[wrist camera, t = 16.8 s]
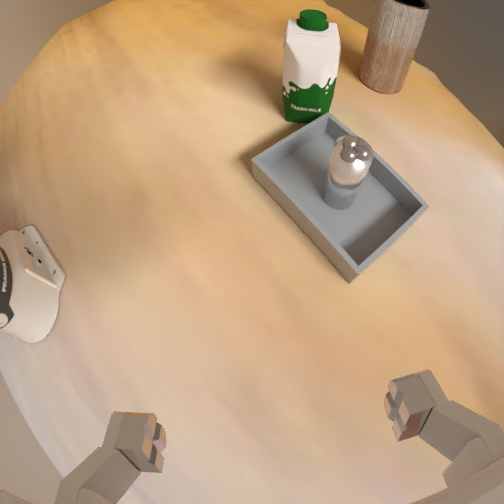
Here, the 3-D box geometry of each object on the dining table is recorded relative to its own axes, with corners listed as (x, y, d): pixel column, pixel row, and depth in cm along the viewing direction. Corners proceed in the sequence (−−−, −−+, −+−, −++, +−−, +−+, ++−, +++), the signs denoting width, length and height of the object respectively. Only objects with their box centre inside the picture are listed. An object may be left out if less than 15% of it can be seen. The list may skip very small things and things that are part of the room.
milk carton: (328, 97, 54) (341, 12, 35) (329, 130, 51) (346, 38, 32) (284, 92, 55) (284, 6, 36) (280, 125, 52) (280, 31, 33)
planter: (405, 80, 55) (433, 1, 34) (395, 101, 53) (426, 13, 32) (366, 61, 58) (384, -19, 36) (351, 81, 55) (370, -10, 34)
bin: (253, 177, 48) (251, 159, 44) (324, 131, 51) (328, 112, 46) (348, 283, 42) (358, 274, 37) (416, 220, 44) (429, 206, 40)
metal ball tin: (314, 191, 46) (325, 141, 34) (338, 174, 47) (353, 123, 35) (338, 216, 44) (356, 170, 33) (361, 197, 45) (384, 150, 34)
